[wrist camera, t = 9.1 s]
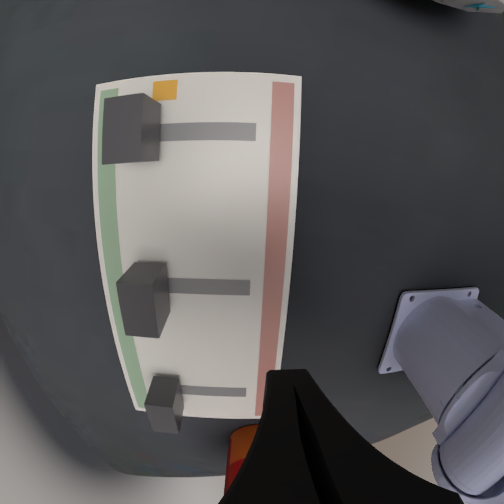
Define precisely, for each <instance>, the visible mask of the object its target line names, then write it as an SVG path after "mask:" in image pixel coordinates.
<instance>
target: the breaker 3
mask: <svg viewBox="0 0 504 504" xmlns="http://www.w3.org/2000/svg"><path fill="white" fill-rule="evenodd" d="M144 406H145V409H146V412H147V415H148V418H149V421H150V424H151V427H152V430H153V431H157V432H164V433H173V434H179V432H180V426H181V420H182V415H183V410H184V402H183V397H182V391H181V385H180V379H179V378H169V377H159V376H153V379H152V382H151V385H150V387H149V390H148V393H147V396H146V399H145V402H144Z"/></svg>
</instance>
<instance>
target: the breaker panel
mask: <svg viewBox="0 0 504 504" xmlns="http://www.w3.org/2000/svg"><path fill="white" fill-rule="evenodd" d="M301 80H302V76H293V75H283V74H270V73H253V72H196V73H178V74H166V75H156V76H147V77H139V78H132V79H125V80H119V81H113V82H108V83H103V84H98V85H96V93H95V104H94V119H93V145H92V173H93V199H94V214H95V226H96V236H97V245H98V254H99V261H100V268H101V275H102V281H103V287H104V292H105V298H106V303H107V308H108V313H109V318H110V322H111V327H112V331H113V335H114V339H115V343H116V347H117V351H118V355H119V359H120V362H121V366H122V369H123V373H124V376H125V379H126V382H127V386H128V389H129V392H130V395H131V398H132V401H133V404H134V407H135V409H136V410H140V411H146V409H145V406H144V402H145V399H146V396H147V393H148V390H149V387H150V385H151V382H152V379H153V376H159V377H169V378H179V379H180V385H181V391H182V397H183V402H184V410H183V415H182V416H191V417H205V418H228V419H260V418H261V415H262V411H263V399H264V390H265V381H266V372H268V371H269V370H280V368H281V360H282V352H283V344H284V335H285V326H286V317H287V308H288V298H289V288H290V277H291V266H292V255H293V243H294V230H295V216H296V201H297V185H298V167H299V146H300V121H301ZM138 93H145V94H146V95H148V96H149V97H151V98H152V99H154V100H156V101H157V102H159V103H160V104H161V114H160V139H159V161H150V162H133V163H119V164H106V165H102V127H103V109H104V98H110V97H116V96H123V95H130V94H138ZM134 262H150V263H166V265H167V278H168V290H169V301H170V314H169V316H168V318H167V321H166V323H165V326H164V328H163V331H162V333H161V336H160V338H147V337H137V336H127V335H125V331H124V326H123V321H122V316H121V311H120V305H119V300H118V294H117V287H116V282H117V281H118V280H119V278H120V277H121V276H122V275H123V274H124V273H125V272H126V271H127V270H128V269H129V268H130V267H131V265H132V264H133V263H134Z"/></svg>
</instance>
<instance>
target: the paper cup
mask: <svg viewBox="0 0 504 504" xmlns="http://www.w3.org/2000/svg"><path fill="white" fill-rule="evenodd" d="M257 427H258V424H253V425H247V426H244V427H241V428H239V429H237V430H235V431H234V432H233V433H232V434H231V436H230V441H229V448H228V457H227V467H226V478H225V488H224V495H225V493H226V492H227V490H228V488H229V487H230V485H231V483H232V482H233V480H234V478H235V476H236V475H237V473H238V471H239V469H240V467H241V465H242V463H243V461H244V459H245V457H246V455H247V453H248V451H249V448H250V446H251V443H252V441H253V439H254V436H255V433H256V430H257Z"/></svg>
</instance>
